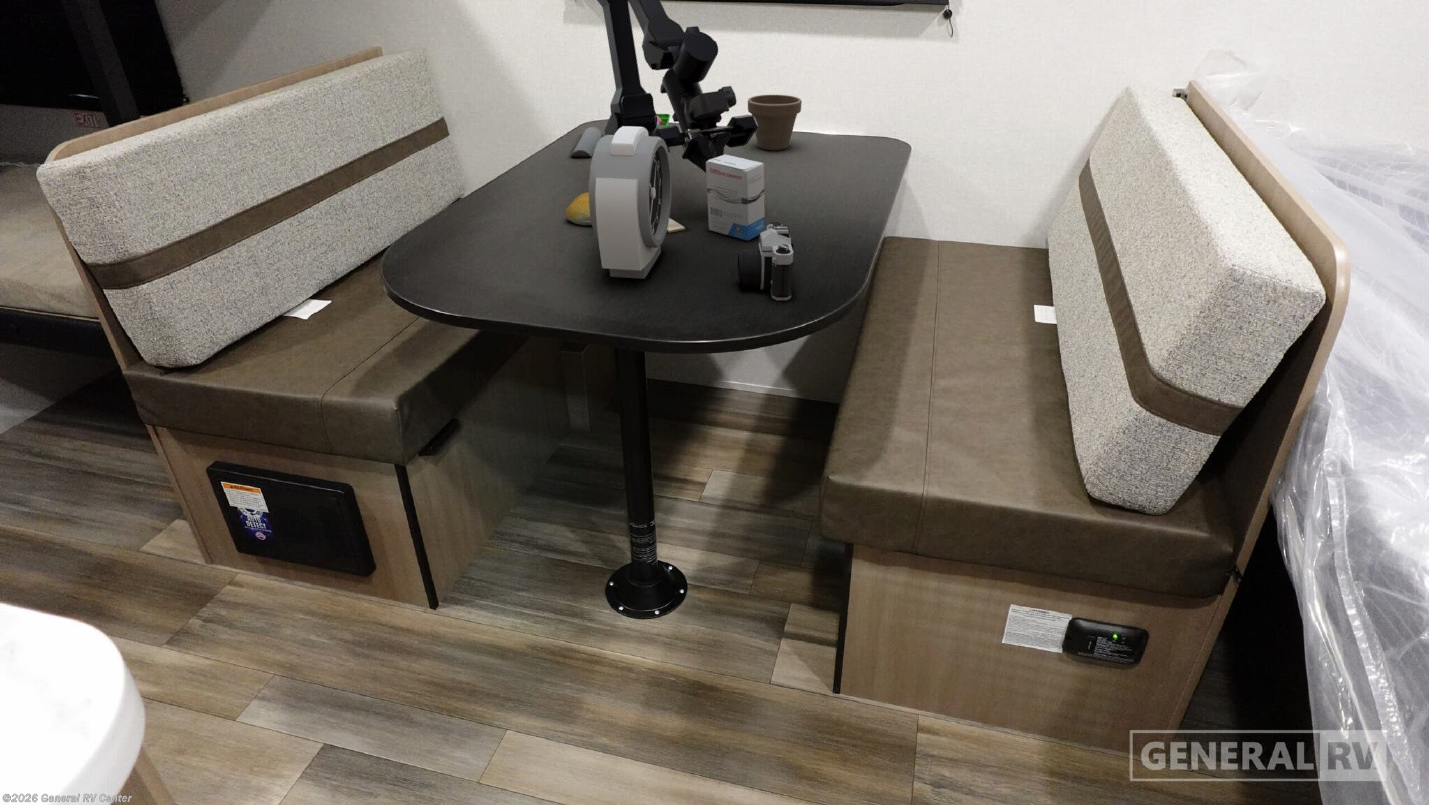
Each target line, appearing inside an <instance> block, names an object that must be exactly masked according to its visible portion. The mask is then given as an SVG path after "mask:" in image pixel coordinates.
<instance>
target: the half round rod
mask: <svg viewBox="0 0 1429 805" xmlns="http://www.w3.org/2000/svg"><path fill="white" fill-rule="evenodd" d="M602 135H603V134H602V132H601V130H600V129H599V128H598V127H595V126H589V127H587V128H586V129H585V131H583V133H582V135H581V137H580V139H579V141H578V142H577V144H576V146H575V148H574V150H573V152H572V153H571V157H576V158H577V157H581V158H582V157H593V153H594V150H595V147H596V145H597V143H598V141H599V140H600V138H601V137H603V136H602Z"/></svg>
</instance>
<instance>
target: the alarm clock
mask: <svg viewBox="0 0 1429 805" xmlns="http://www.w3.org/2000/svg"><path fill="white" fill-rule="evenodd" d="M668 148H669V147H668ZM668 148H667V145H666V143H665V141H664V140H663V139H661V138H660V137H651V136H648V131H647V129H645V128H644V127H632V126H622V127H621V128H619V129H618V131H617V132H616V133H615V135H606V136H605V135H604V136H601V138H600V140H599V141H598V143H597V145H596V147H595V150H594V152H593V154H592V156H591V162H590V168H589V176H588V192H589V209H590V217H591V222H592V225H591V226H592V230H593V233H594V236H595V238H596V240H597V241H598V247H599V248H598V249H599V256H600V262H601V268H602V269H607V270H608V269H609V277H611V278H612V277H613V278H628V279H643V280H645V279H646V277H647V276H648V274H649V272H650V271H651V269H652V268H653V266H654V264H655V263H656V261H657V260H658V258H659V256H660V255H661V253H662V248H661V245H662V244H663V242H664V240H665V238H666V235H667V228H668V222H669V218H670V216H671V215H670V214H671V206H672V164H671V157H670V152H668Z"/></svg>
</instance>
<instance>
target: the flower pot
mask: <svg viewBox="0 0 1429 805" xmlns="http://www.w3.org/2000/svg"><path fill="white" fill-rule="evenodd" d="M802 102H803V101H802V99H801V98H799V97H798V96H794V95H789V94H788V95H787V94H760V95H754V96H751V97H749V98H748V99H747V112H748V113H750V115H752V116H753V117H754V118H755V120H756V122H757V124H758V128H757V130H756V131H755V133H754V134H755V138H756V143H757V146H758V148H760V149H762V150H764V151H766V150H767V151H781V150H786V149H787V148H788V147H789V145H790V142H791V139H792V134H793V130H794V127H795V124H796V119H797V117H798V114H800V113H801V112H802Z"/></svg>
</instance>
